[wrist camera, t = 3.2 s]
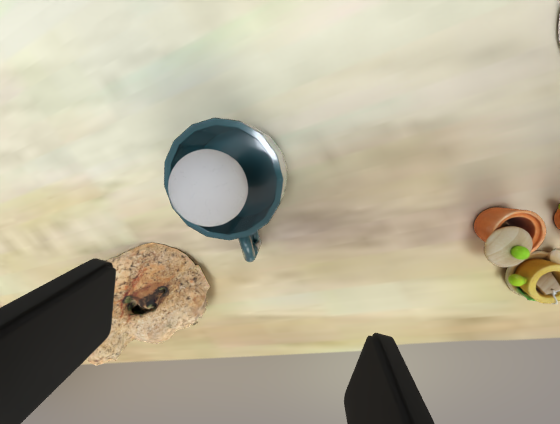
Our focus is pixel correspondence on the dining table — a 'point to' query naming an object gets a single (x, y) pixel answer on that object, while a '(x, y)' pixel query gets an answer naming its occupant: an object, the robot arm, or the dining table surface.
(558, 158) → the dining table surface
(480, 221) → the toy tea set
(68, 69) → the dining table surface
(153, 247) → the tan irregular piece
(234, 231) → the mug
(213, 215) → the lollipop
